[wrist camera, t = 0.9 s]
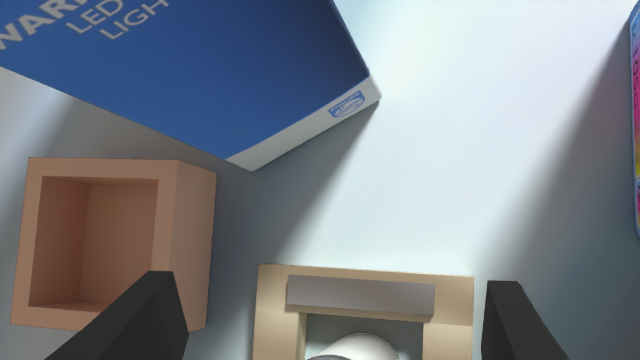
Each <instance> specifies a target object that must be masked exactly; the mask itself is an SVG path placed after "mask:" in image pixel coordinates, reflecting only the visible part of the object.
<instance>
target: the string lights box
mask: <svg viewBox="0 0 640 360" xmlns="http://www.w3.org/2000/svg"><path fill="white" fill-rule="evenodd" d="M0 66H1V67H3V68H6V69H8V70H11V71H13V72H16V73H18V74H20V75H23V76H25V77H28V78H30V79H32V80H35V81H37V82H40V83H42V84H44V85H47V86H49V87H52V88H54V89H56V90H59V91H61V92H64V93H66V94H68V95H71V96H73V97H76V98H78V99H81V100H83V101H85V102H88V103H90V104H93V105H95V106H97V107H100V108H102V109H105V110H107V111H109V112H112V113H114V114H117V115H119V116H121V117H124V118H126V119H129V120H131V121H133V122H136V123H138V124H141V125H143V126H146V127H148V128H150V129H153V130H155V131H158V132H160V133H162V134H165V135H167V136H170V137H172V138H174V139H177V140H179V141H181V142H184V143H186V144H188V145H190V146H193V147H195V148H197V149H200V150H202V151H205V152H207V153H210V154H212V155H214V156H216V157H219V158H221V159H223V160H225V161H228V162H230V163H233V164H235V165H237V166H240V167H242V168H244V169H246V170H248V171H250V172H252V171H255V170H256V169H258V168H260V167H262V166H264V165H265V164H267V163H269V162H271V161H272V160H274V159H276V158H277V157H279V156H281V155H282V154H284V153H286V152H288V151H290V150H291V149H293V148H295V147H297V146H298V145H300V144H302V143H304V142H305V141H307V140H309V139H311V138H313V137H314V136H316V135H318V134H320V133H321V132H323V131H325V130H327V129H329V128H330V127H332V126H334V125H336V124H337V123H339V122H341V121H343V120H345V119H346V118H348V117H350V116H352V115H354V114H355V113H357V112H359V111H361V110H363V109H364V108H366V107H368V106H370V105H371V104H373V103H375V102H377V101H378V100H379V99H380V98H381V97H382V94H381V91H380V89H379V87H378V85H377V83H376V81H375V79H374V77H373V75H372V73H371V71H370V69H369V68H368V66H367V64H366V62H365V60H364V58H363V57H362V55H361V53H360V51H359V49H358V47H357V45H356V44H355V42H354V40H353V38H352V36H351V34H350V32H349V30H348V29H347V27H346V25H345V23H344V21H343V19H342V17H341V15H340V13H339V11H338V9H337V7H336V5H335V3H334V1H333V0H0Z"/></svg>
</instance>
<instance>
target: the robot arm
mask: <svg viewBox="0 0 640 360" xmlns="http://www.w3.org/2000/svg"><path fill="white" fill-rule="evenodd" d="M188 336H189V332H188V328H187V324H186V320H185V317H184V313H183V309H182V305H181V301H180V297H179V293H178V289H177V285H176V281H175V277H174V273H173V271H147V272H146V273H145V274H144V275H143V276H142V277H140V278H139V279H138V280H137V281H136V282H135V283H134V284H133V285H131V286H130V287H129V288H128V289H127V290H126V291H125V292H124V293H123V294H121V295H120V296H119V297H118V298H117V299H116V300H115V301H114V302H113V303H111V304H110V305H109V306H108V307H107V308H106V309H105V310H104V311H102V312H101V313H100V314H99V315H98V316H97V317H96V318H94V319H93V320H92V321H91V322H90V323H89V324H88V325H86V326H85V327H84V328H83V329H82V330H81V331H79V332H78V333H77V334H76V335H75V336H73V337H72V338H71V339H70V340H68V341H67V342H66V343H65V344H63V345H62V346H61V347H60V348H58V349H57V350H56V351H55V352H53V353H52V354H51V355H50V356H48V357H47V358H46V359H45V360H182V358H183V355H184V351H185V347H186V343H187V340H188ZM481 354H482V360H569V358H568V357H567V355H566V354H565V353H564V351H563V350H562V349H561V347H560V346H559V344H558V343H557V342H556V340H555V339H554V337H553V336H552V335H551V333H550V332H549V330H548V329H547V327H546V326H545V324H544V323H543V321H542V320H541V318H540V316H539V315H538V313H537V312H536V310H535V309H534V307H533V305H532V304H531V302H530V300H529V299H528V297H527V295H526V293H525V292H524V290H523V288H522V286H521V285H520V284H519V283H518V282H517V281H488V282H487V292H486V302H485V312H484V322H483V332H482V342H481Z"/></svg>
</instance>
